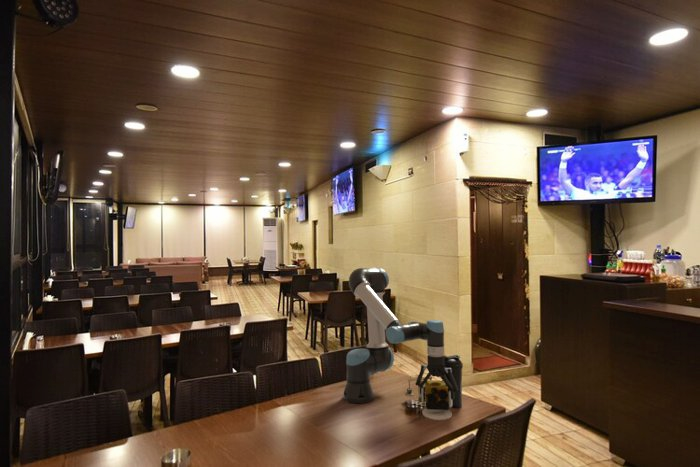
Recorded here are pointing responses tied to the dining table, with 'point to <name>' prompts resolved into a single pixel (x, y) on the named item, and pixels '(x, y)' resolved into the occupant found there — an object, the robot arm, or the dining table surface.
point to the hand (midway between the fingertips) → (437, 404)
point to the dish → (437, 414)
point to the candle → (436, 395)
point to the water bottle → (457, 373)
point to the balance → (410, 393)
